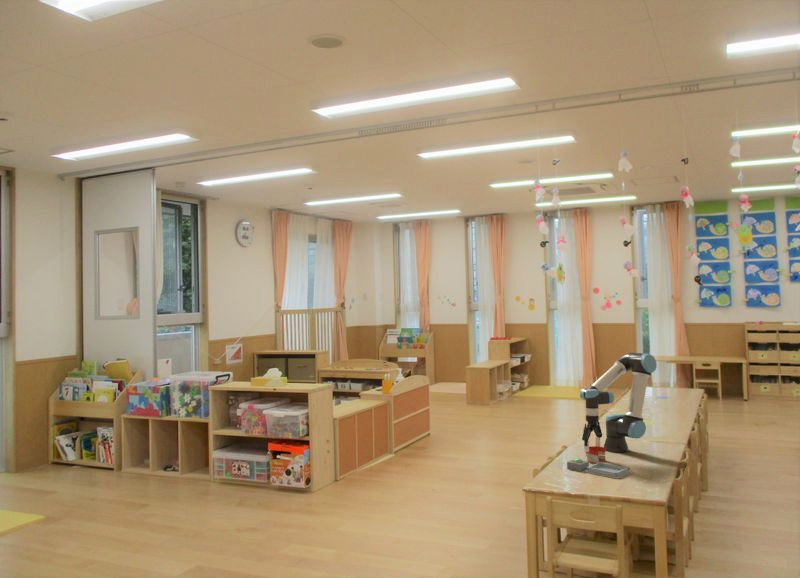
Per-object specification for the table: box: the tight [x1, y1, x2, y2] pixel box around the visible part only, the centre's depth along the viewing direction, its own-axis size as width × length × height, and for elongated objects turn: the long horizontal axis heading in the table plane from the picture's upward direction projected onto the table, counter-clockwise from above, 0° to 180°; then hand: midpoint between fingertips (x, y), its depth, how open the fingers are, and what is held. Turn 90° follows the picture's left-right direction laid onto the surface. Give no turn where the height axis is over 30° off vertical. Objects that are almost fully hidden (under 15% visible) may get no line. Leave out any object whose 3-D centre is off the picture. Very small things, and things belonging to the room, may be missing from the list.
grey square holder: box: [566, 459, 590, 472], centre depth 369 cm, size 9×9×4 cm
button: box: [573, 457, 582, 463], centre depth 369 cm, size 4×4×4 cm
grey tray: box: [584, 461, 632, 480], centre depth 359 cm, size 16×20×3 cm
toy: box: [584, 445, 607, 465], centre depth 384 cm, size 12×10×8 cm
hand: (592, 449), depth 385 cm, fingers open, 13 cm apart
